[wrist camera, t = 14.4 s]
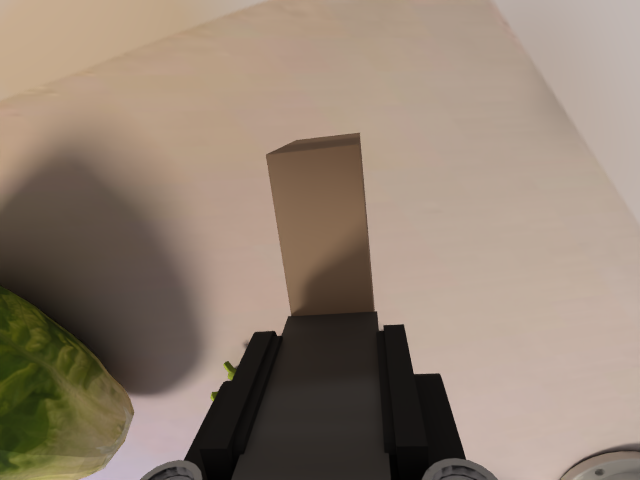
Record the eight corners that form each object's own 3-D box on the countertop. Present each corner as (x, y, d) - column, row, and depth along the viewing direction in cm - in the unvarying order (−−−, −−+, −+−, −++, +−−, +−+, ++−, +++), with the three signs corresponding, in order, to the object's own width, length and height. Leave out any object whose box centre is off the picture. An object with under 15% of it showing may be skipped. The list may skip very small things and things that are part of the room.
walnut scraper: (293, 140, 15) (133, 214, 4) (362, 132, 14) (366, 192, 4) (328, 399, 18) (287, 775, 8) (384, 397, 18) (416, 788, 8)
